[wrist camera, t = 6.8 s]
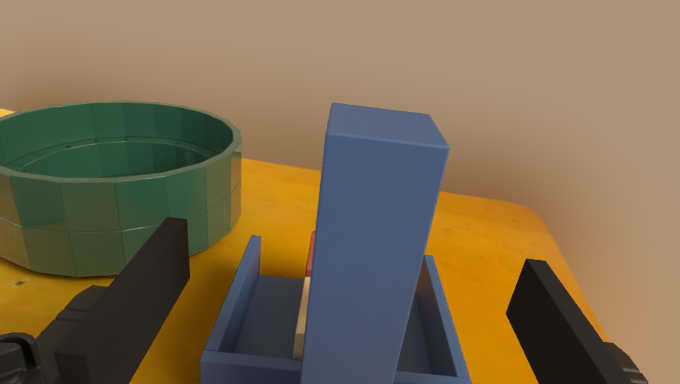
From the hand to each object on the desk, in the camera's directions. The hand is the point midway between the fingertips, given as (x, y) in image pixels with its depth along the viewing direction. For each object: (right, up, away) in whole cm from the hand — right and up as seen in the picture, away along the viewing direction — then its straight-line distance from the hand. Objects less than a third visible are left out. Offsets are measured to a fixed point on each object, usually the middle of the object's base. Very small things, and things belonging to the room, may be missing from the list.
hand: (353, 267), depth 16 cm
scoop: (-1, -6, +6) cm, 9 cm away
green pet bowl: (-17, +1, +17) cm, 24 cm away
